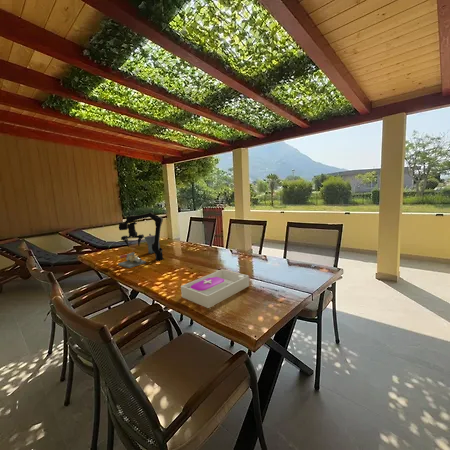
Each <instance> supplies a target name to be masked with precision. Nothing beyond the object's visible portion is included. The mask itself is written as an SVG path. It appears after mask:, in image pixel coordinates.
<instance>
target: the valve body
mask: <svg viewBox="0 0 450 450" xmlns="http://www.w3.org/2000/svg"><path fill="white" fill-rule="evenodd" d="M125 258H126V259H125V260H126V261H130V262H131V263H134V262H135V263H141V260H142V258H139V256H138V255H131V256H127V257H125Z"/></svg>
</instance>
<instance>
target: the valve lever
mask: <svg viewBox="0 0 450 450" xmlns="http://www.w3.org/2000/svg"><path fill="white" fill-rule="evenodd" d="M132 255H135V252H134V251H133V252H130V253H125V254H121V255H119V259H124V258H126V257H127V256H132Z"/></svg>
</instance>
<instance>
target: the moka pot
mask: <svg viewBox="0 0 450 450" xmlns="http://www.w3.org/2000/svg"><path fill="white" fill-rule="evenodd" d="M143 239H144V241H146V244H147V248H148V251H147V252H148V254H151V255H152V254H155V253H154V252H153V251H152V244H153V243H154V241H155V234H154V235H152V234H151V233H149V235H147V236H144V238H143Z"/></svg>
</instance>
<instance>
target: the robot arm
mask: <svg viewBox="0 0 450 450" xmlns="http://www.w3.org/2000/svg"><path fill="white" fill-rule="evenodd" d="M148 218H149V219H150V218H151V220H153V221H154V223H155V224H154V225H155V231H154V232H155V233H154V235H155V241H154V243H153V244H152V251H153V252H154V253H153V254H154V255H155V258H154V261H161V260H164V259H165V257H164V256H163V252H164V251H163V248H162V247H161V243H160V237H161V228H162V224H163V220H164V218H163V217H162V216H159V215H157V214H155V213H153V212H149V213H148V212H147V213H144V214H143V213H142V214H139V215H137V214H136V215H128V216H126V218H125V222H119V223H118V230H119V231H127V230H128V235H122V236H121V237H120V239H121V241H123V242H124V243H125V244H126V246H127V247H128V248H129V247H130V244H129V239H137V244H138V247H140V246H141V241H142V239H144V237H145V235H144V234H138V232H137V231H136V226H135V225H137V224H138V223H137V222H136V221H138V220H143V219H148Z"/></svg>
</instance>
